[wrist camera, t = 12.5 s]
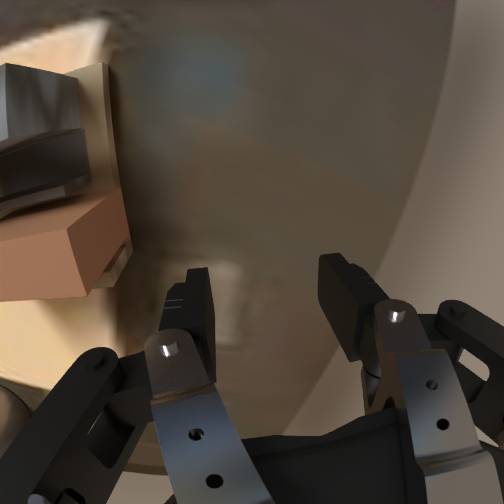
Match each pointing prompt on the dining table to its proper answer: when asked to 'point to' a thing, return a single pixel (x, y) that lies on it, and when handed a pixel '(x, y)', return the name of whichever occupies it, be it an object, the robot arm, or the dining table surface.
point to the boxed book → (60, 245)
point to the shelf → (57, 142)
